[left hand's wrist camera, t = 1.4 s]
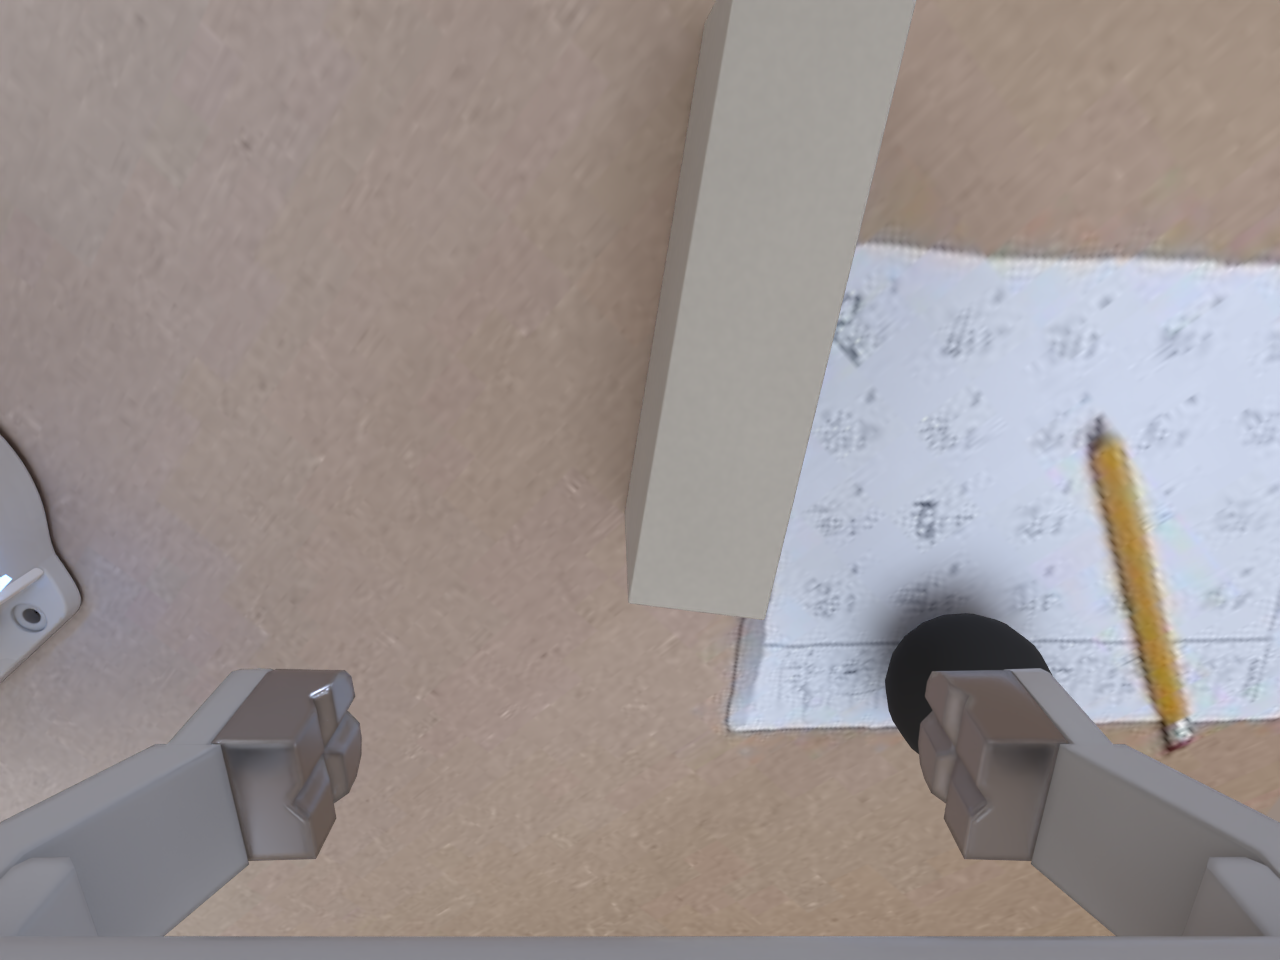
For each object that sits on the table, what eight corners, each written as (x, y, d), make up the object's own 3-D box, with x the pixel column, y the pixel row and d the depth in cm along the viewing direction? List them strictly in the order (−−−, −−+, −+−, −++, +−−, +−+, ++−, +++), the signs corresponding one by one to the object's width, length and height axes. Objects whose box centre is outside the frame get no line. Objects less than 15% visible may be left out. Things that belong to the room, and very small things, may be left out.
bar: (730, 528, 38) (765, 621, 30) (624, 513, 38) (627, 604, 29) (835, 46, 31) (921, -16, 22) (704, 21, 31) (740, -53, 22)
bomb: (1001, 571, 40) (1155, 715, 28) (1010, 692, 42) (1154, 868, 31) (856, 603, 40) (952, 758, 29) (874, 721, 43) (968, 905, 31)
